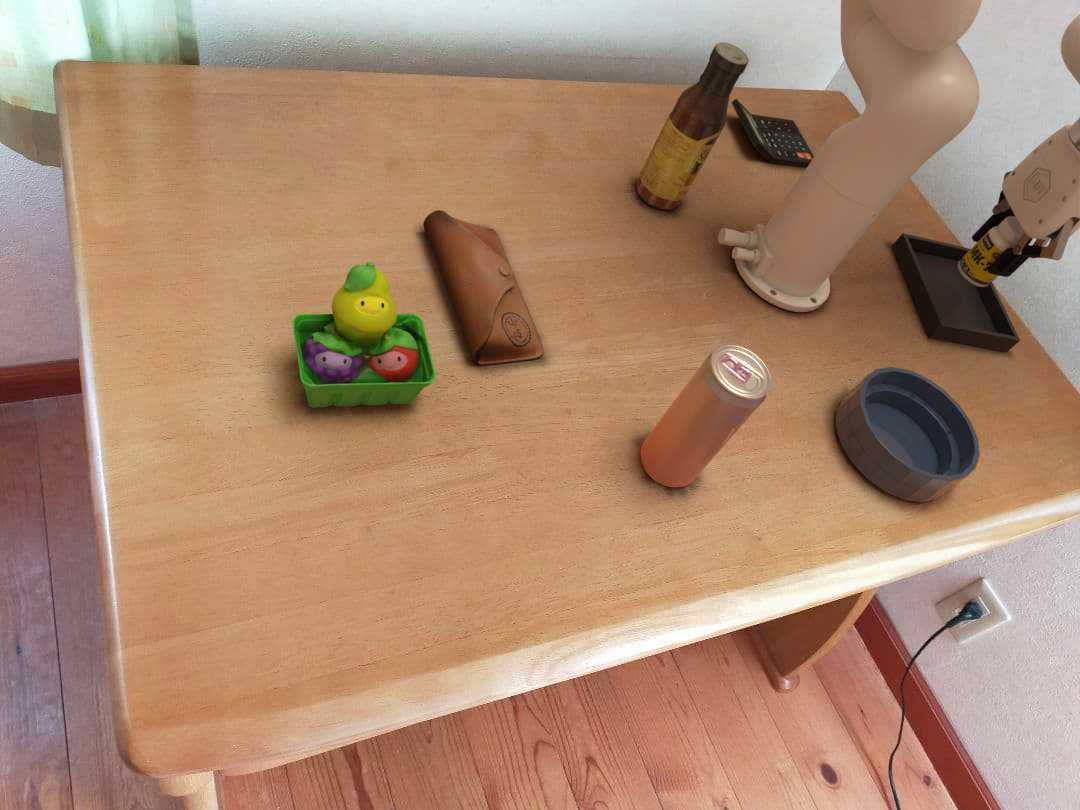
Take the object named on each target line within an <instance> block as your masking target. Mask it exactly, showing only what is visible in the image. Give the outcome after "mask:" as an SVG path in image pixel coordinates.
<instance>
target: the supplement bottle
mask: <svg viewBox="0 0 1080 810" xmlns="http://www.w3.org/2000/svg"><path fill="white" fill-rule="evenodd" d="M1023 233H1024V231H1023V229H1022V228H1021V226H1020V224H1019V222H1018V220H1017V219H1016V217H1014V216H1008V217H1006V218H1005V219H1004V220H1003V221H1002V222H1001V223H1000V224H999V225H998V226H995V227H993V228H991V229H990V230H989V231H988V232H987V233H986V234H985V235H984V236H983V237H982V238H981V239H980V240H979V241H978V242H975V244H974V245H973V246H972V247H971V248H970V250H969V251H968V252H967V253H966V254H965V255H964V257H962V258H961V260H960V261H959V263H958V269H959V271H960V273H961V275H962V276H963V277H964V278H965V279H966V280H967V281H969V282H970V283H972V284H974V285H976V286H979V287H986V286H988V285H989V284H990V283H993V282H994V281H995V280H996V279H997V278H998V277H1000V276H999V275H994V274H990V273H989V272H988V270H987V269H988V267H989V266H990V265H991V264H992V263H993V262H994V261H995V260H996V259H997V258H998V257H999V256H1000V255H1001V254H1002V253H1003V252H1004V251H1005V250H1006V249H1007V248H1009V247H1010V248H1014V247H1015V245H1016V244H1017V242H1018V241H1019V239H1020V238H1021V236H1022V235H1023Z"/></svg>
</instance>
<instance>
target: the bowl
mask: <svg viewBox="0 0 1080 810" xmlns="http://www.w3.org/2000/svg"><path fill="white" fill-rule="evenodd" d="M835 413H836V414H835V429H836V433H837V436H838V439H839V442H840V445H841V447H842V449H843V450H844V452H845V454H846V456H847V457H848V459H849V461H850V462H851V464H852V465H853V466H854V467H855V468H856V469H857V470H858V471H859V472H860V473H861V474H862V476H864V477H865V479H867V480H868V481H869V482H871V483H872V484H874V485H875V486H876V487H878V488H879V489H881V490H882V491H884V492H885V493H887V494H889V495H891V496H894V497H896V498H898V499H902V500H904V501H910V502H918V503H926V502H928V501H933V500H937V499H939V498H940V497H942V496H943V495H944V494H946V493H947V492H949V491H950V490H951V489H952V488H954V487H955V486H957V485H958V484H959V483H960V482H962V481H963V480H964V479H966V478H967V477H968V476H969V475H971V474H972V473H973V472H974V471H975V470H976V468H977V465H978V462H979V460H980V456H981V453H980V443H979V438H978V435H977V432H976V430H975V428H974V426H973V423H972V421H971V420H970V418H969V417H968V415H967V414H966V412H965V411H964V410H963V408H962V407H961V405H960V403H958V402H957V401H956V400H955V398H953V397H952V395H950V394H949V393H948V392H947V391H946V389H944V388H942V387H941V386H940V385H938V384H937V383H935V382H933V381H932V380H931V379H929V378H928V377H927V376H924V375H922V374H919V373H917V372H915V371H912V370H910V369H907V368H902V367H895V366H887V367H881V368H876V369H875V370H873V371H871V372H870V373H868V374H867V375H866V376H864V377H863V378H862V380H860V382H859V383H857V385H855V386H854V387H853V388H852V389H851V390H850V391H849V393H848V394H847V395H845V396H844V397H843V398H842V399H841V401H840V404H839V405H838V406H837V409H836V410H835Z"/></svg>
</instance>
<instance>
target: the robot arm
mask: <svg viewBox="0 0 1080 810" xmlns="http://www.w3.org/2000/svg"><path fill="white" fill-rule="evenodd" d="M982 3H983V0H840V45H841V51H842V56H843V59H844V62H845V64H846V67H847V68H848V70H849V73H850V74H851V76H852V78H853V80H854V82H855V84H856V86H857V88H858V90H859V92H860V94H861V96H862V98H863V100H864V102H865V108H864V110H863V112H862V114H860V115H859V116H858V117H856V118H854V119H852V120H850V121H848V122H846V123H844V124H842V125H840V126H839V127H838V128H836V129H835V130H834V131H833V132H832V133H830V134H829V135H828V137H827V138H826V139H825V140H824V142H823V143H822V145H821V146H820V148H819V149H818V151H817V152H816V153H815V155H814V158H813V160H812V161H811V162H810V164H809V165H808V167H807V168H805V170H803V172H802V174H801V175H800V176H799V178H798V179H797V181H796V182H795V184H794V185H793V186H792V188H791V189H790V191H789V192H788V194H787V195H786V196H785V198H784V199H783V201H782V202H781V204H780V205H779V206H778V208H777V209H776V210H775V212H774V213H773V214H772V216H771V218H770V219H769V221H768V222H767V223H766V224H762V223H757V224H756V225H755V227H754V229H753V230H745V231H744V232H742V231H738V230H736V229H732V228H727V227H722V228H721V229H720V230H719V231H718V234H717V243H718V244H719V245H724V246H728V247H733V249H732V251H731V258H732V259H733V260H734V263H735V266H736V269H737V271H738V274H739V276H740V277H741V278H742V280H743V281H744V282H745V284H746V285H747V286H748V287H749V288H750V289H751V290H752V291H753V292H754V293H755V294H757V296H759V297H760V298H761V299H763V300H764V301H766V302H767V303H769V304H772V305H773V306H775V307H778V308H780V309H784V310H786V311H789V312H790V311H791V312H796V313H808V312H812V311H815V310H817V309H819V308H820V307H822V305H823V304H825V302H826V300H827V299H828V298H829V296H830V293H831V281H830V276H831V274H832V273H833V272H834V270H835V269H836V268H837V267H838V266H839V264H841V263H842V261H843V260H844V259H845V257H847V256H848V254H849V252H850V251H851V250H852V249H853V248H854V247H855V245H856V244H857V243H858V242H859V240H861V238H862V237H863V235H864V234H865V233H866V232H867V231H868V229H869V228H871V226H872V224H873V223H874V222H875V221H876V220H877V218H879V216H880V215H881V214H882V213H883V211H885V209H886V208H887V207H888V205H889V204H890V203H891V202H892V200H893V199H894V198H895V197H896V195H897V194H898V193H899V192H900V191H901V190H902V188H903V187H904V186H905V185H906V184H907V183H908V181H909V180H910V179H911V178H912V177H913V176H914V175H915V174H916V173H917V172H918V170H919V169H920V168H921V167H922V166H924V164H926V163H927V161H929V160H930V159H931V158H932V157H933V156H934V155H935V154H937V153H938V152H939V151H940V150H942V149H943V148H945V146H947V145H948V144H949V143H951V141H952V140H954V139H955V138H957V136H958V135H959V134H961V133H962V132H963V131H964V129H966V128H967V127H968V125H969V124H970V123H971V121H972V120H973V118H974V117H975V114H976V113H977V110H978V106H979V103H980V84H979V80H978V76H977V73H976V71H975V68H974V67H973V65H972V63H971V61H970V60H969V58H968V56H967V55H966V53H965V51H964V50H963V49H962V47H961V46H960V44H959V43H958V41H959V40H960V39H961V38H962V37H963V36H964V35H965V34H967V32H968V31H969V29H971V27H972V25H973V23H974V22H975V20H976V18H977V16H978V14H979V12H980V9H981V6H982ZM1060 54H1061V58H1062V61H1063V64H1064V66H1065V67H1066V69H1067V70H1068V71H1069V73H1070V74H1071V76H1072V77H1073V78H1074V79H1075V81H1076V82H1077V84H1078V85H1080V14H1078V15H1077V16H1076V17H1074V18H1073V20H1072V21H1070V23H1069V24H1068V26H1067V27H1066V29H1065V30H1064V32H1063V36H1062V37H1061V41H1060ZM991 212H992V215H991V216H990V217H989V218H987V220H986V221H985V222H983V224H982V225H981V226H980V227H979V228H978V229H977V230H976V231H975V232H974V233H973V234H972V235H971V240H972V241H973V242H975V243H977V242H978V241H979V240H980V239H981V238H982V237H983V236H984V235H985V234H986V233H987V232H988V231H989V230H990V229H991V228H993V227H995V226H998V225H999V224H1000V223H1001V222H1002V221H1003V220H1004V219H1005V218H1006V217H1008V216H1014V217H1016V219H1017V220H1018V222H1019V224H1020V226H1021V228H1022V229H1023V231H1024V233H1023V235H1022V236H1021V238H1020V239H1019V241H1018V242H1017V244H1016V245H1015V247H1014V248H1010V247H1009V248H1007V249H1006V250H1005V251H1004V252H1003V253H1002V254H1001V255H1000V256H999V257H998V258H997V259H996V260H995V261H994V262H993V263H992V264H991V265H990V266H989V267H988V269H987V270H988V272H989V273H990V274H994V275H999V276H998V277H1003V278H1009V277H1010V276H1011V275H1012V274H1014V273H1015V272H1016V271H1017V270H1018V269H1019V268H1020V267H1022V265H1023V264H1024V263H1025V262H1027V261H1028V260H1029V259H1048V260H1053V261H1060V260H1062V257H1063V255H1064V253H1065V251H1066V250H1065V249H1066V247H1067V244H1068V241H1069V239H1070V237H1072V236H1073V235H1074V234H1075V233H1076V232H1077V231H1078V230H1079V229H1080V117H1078V119H1076V120H1075V122H1073V124H1066V125H1064V126H1062V127H1061V128H1060V129H1058V130H1056V131H1055V132H1054V133H1052V134H1051V135H1049V136H1048V137H1047V138H1046V139H1045V140H1044V141H1042V142H1041V143H1040V144H1039V145H1037V146H1036V147H1035V148H1034V149H1033V150H1032V151H1031V152H1030V153H1029V154H1028V155H1027V156H1026V157H1024V158H1023V159H1022V161H1020V162H1019V163H1018V164H1017V165H1016V167H1014V168H1013V169H1012V170H1011V171H1007V172H1005V174H1004V176H1003V182H1002V184H1001V190H1000V192H999V197H998V201H997V203H996V204H995V205H994V206H993V208H992V211H991ZM1034 239H1035V241H1034V242H1033V244H1031V242H1032V241H1033V240H1034ZM1048 242H1049V243H1048ZM1030 244H1031V245H1030ZM1047 244H1048V245H1047Z"/></svg>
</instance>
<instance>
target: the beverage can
mask: <svg viewBox="0 0 1080 810" xmlns="http://www.w3.org/2000/svg"><path fill="white" fill-rule="evenodd" d="M771 387H772V375H771V373H770V370H769V369H768V366H767V365H766V363H765V362H764V361H763V360H762V359H761V358H760V357H759V356H758V355H757V354H756V353H754V352H753V351H751V350H750V349H747V348H746V347H743V346H741V345H737V344H724V345H721V346H719V347H717V348H716V349H715V350H714V351H713V352H711V353H710V354H709V355H707V356H706V358H705V359H704V360H703V361H702V363H701V364H700V366H699V367H698V368H697V370H696V371H695V372H694V374H693V375H692V376H691V378H690V379H689V380H688V381H687V383H686V384H685V385H684V387H683V388H682V390H681V391H680V392H679V394H678V395H677V396H676V398H675V399H674V400H673V401H672V403H671V404H670V406H669V407H668V408H667V410H666V411H665V413H663V415H662V416H661V418H660V419H659V420H658V422H657V423H656V425H655V426H654V427H653V429H652V430H651V431H650V432H649V433H648V435H647V436H646V438H645V439H644V441H643V442H642V444H641V447H640V460H641V464H642V466H643V468H644V471H645V472H646V473H647V474H648V476H649V477H650V478H651V479H653V481H655V482H656V483H658V484H660V485H662V486H665V487H668V488H681V487H687V486H688V485H690V484H692V483H693V482H694V480H695V479H696V478H697V477H698V476H699V475H700V474H701V473H702V472H703V470H705V468H706V467H707V466H708V465H709V463H711V461H712V460H713V459H714V458H715V457H716V456H717V454H718V453H719V452H720V451H722V449H723V448H724V447H725V446H726V445H727V443H728V442H729V441H730V440H731V439H732V438H733V436H734V435H736V433H737V432H738V431H739V430H740V429H741V428H742V427H743V425H744V424H745V423H746V422H747V420H749V418H750V417H751V416H752V415H753V414H754V413H755V412H756V410H757V409H758V408H759V407H760V406H761V405H762V404H763V402H764V401H765V400H766V398H767V394H768V393H769V392H770V390H771Z"/></svg>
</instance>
